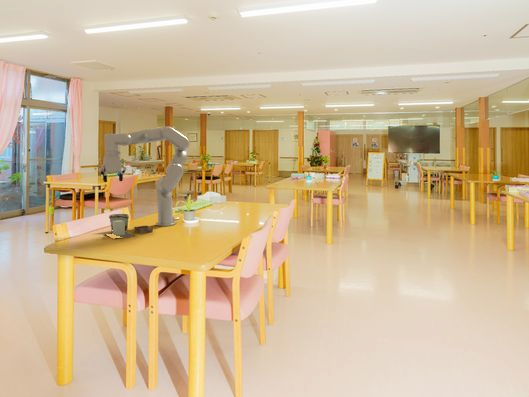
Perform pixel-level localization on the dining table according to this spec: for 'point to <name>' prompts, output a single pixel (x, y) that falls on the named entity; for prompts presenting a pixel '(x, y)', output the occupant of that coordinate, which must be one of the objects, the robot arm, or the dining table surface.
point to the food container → (119, 217)
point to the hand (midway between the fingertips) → (113, 181)
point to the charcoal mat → (126, 235)
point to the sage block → (118, 227)
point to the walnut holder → (143, 229)
